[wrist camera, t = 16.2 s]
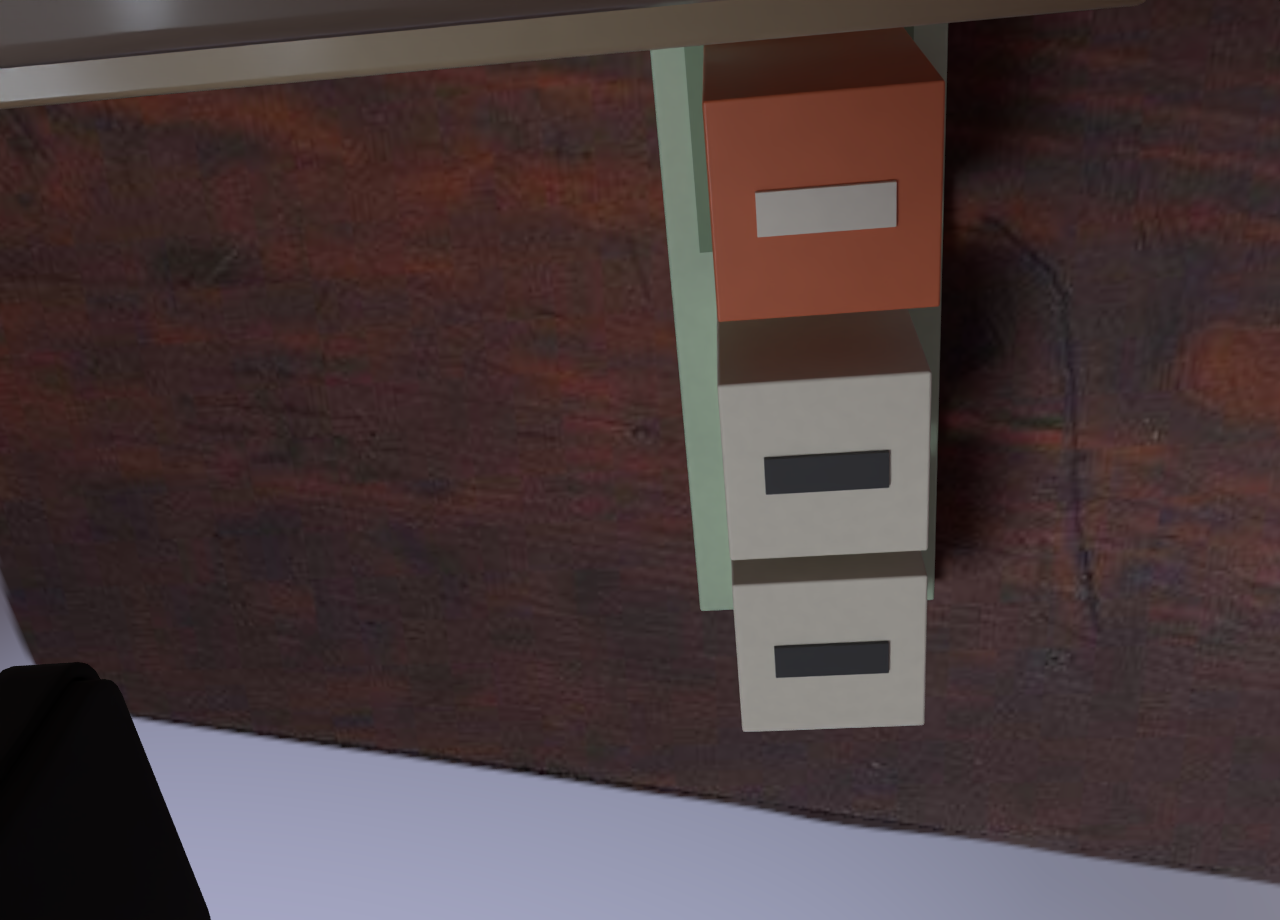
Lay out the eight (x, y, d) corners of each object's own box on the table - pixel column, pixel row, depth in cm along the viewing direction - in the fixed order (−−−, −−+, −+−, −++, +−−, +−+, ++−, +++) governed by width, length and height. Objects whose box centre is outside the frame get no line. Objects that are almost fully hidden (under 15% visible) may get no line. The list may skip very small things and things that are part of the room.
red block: (703, 43, 25) (701, 102, 20) (903, 25, 24) (946, 81, 20) (716, 233, 27) (718, 325, 22) (902, 219, 26) (941, 309, 22)
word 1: (700, 594, 32) (698, 747, 27) (648, 1, 25) (631, 58, 20) (929, 582, 32) (971, 737, 27) (943, -28, 25) (1004, 25, 19)
